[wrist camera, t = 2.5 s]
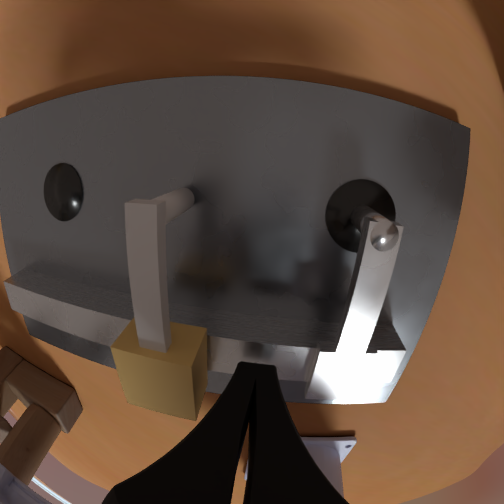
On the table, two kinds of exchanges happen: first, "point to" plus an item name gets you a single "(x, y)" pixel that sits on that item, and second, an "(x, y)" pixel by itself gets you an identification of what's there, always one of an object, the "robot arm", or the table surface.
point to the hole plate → (239, 223)
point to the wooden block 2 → (32, 414)
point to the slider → (158, 318)
